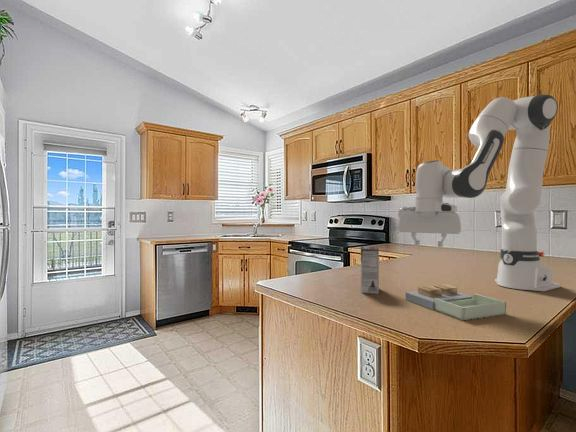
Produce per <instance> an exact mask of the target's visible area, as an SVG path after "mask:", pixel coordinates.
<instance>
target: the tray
mask: <svg viewBox="0 0 576 432" xmlns="http://www.w3.org/2000/svg"><path fill="white" fill-rule="evenodd" d="M472 295H473V296H472V297H473V298H472V299H465V300H457V301H449V302H446V301H443V300H440V299H437V298H434V310H433V311H436V312H437V313H438V312H439V313H441V314H444V315H446V314H447V316H449V315H450V316H449V317H452V318H454V317H455V318H454V319H457V318H458V319H457V320H459V319H460V321H462V320H463V322H464V320H466V321H470V319H472V320H478V319H477V318H479V319H484V318H483V317H485V318H491V317H495V316H496V317H497V316H503V315H507V302H506V301H505V300H500V299H497V298H493V297H489V296H486V295H485V296H484V295H481V294H478V293H472ZM490 316H491V317H490Z"/></svg>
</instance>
